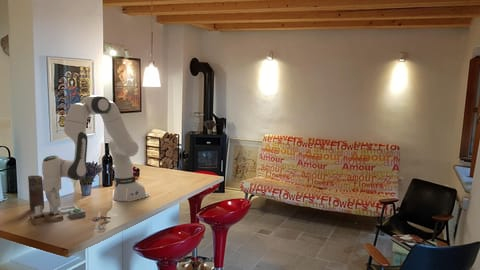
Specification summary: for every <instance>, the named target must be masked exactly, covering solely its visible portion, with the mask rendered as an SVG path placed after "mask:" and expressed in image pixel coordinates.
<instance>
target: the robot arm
mask: <svg viewBox="0 0 480 270" xmlns="http://www.w3.org/2000/svg"><path fill="white" fill-rule="evenodd" d="M117 106H118V105H116V103H115V102H113V101H111V100H109V99H108V98H107V97H105V96H103V95H92V94H91V95H89V96H82V97H81V98H80V99H79V100H78V101H77V102H76V103H72V104H71V105H70V107H69V108H68V110H67V113H66V117H65V120H64V126H63V130H64V131H63V132H64V133H65V135H66V136H67V137H68V138H69V139H71V140H72V141H73V143H74V145H75V146H74V147H75V148H74V158H73V160H70V159H66V158H63V157H59V156H57V155H49V156H46V157H45V158H43V160H42V163H41V175H42V180H43V192H44V196H45V198H46V200H47V202H48V203H49V205H48V206H50V204H51V205H52V207H53V213H54V214H57V213H58V211H57V210H59V209H58V208H61V195H60V190H62V178H67V179H70V180H74V181H80V180H82V179H83V178H84V177H86V174H87V173H88V172H87V171H88V168H87V167H88V166H87V154H88V153H87V152H88V135H87V131H86V130H87V123H88V118H89V116H90V115H92V116H93V115H100V117H101V119H102V122H103V124H104V127H105V129H106V132H107V134H108V135H109V136H110V137H111V139H110V140H109V141H108V149H109V150H110V152H111V157H112V160H113V163H114V164H113V165H114V166H113V167H114V177H113V184H114V191H113V196H112V199H113V201H118V202H134V201H137V199H138V200H141V198H142V199H145V197H146V198H149V197H150V195H149V193H148V192H147V191H146V188H145V186H144V185H143V184H141V183H139V182H138V181H139V177H138V176H136V175H134V170H133V169H134V167H133V165H134V164H133V162H132V160H131V158H130V157H134V156H136V155H137V154H138V153H139V145H138V143H137V142H136V141H135V140H134V139H133V137H132V135H131V134H130V132H129V130H128V129H127V127H126V125H125V123H124V120H123V117H122V114H121V111H120V110H119V108H118V107H117Z"/></svg>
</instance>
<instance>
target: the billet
mask: <svg viewBox="0 0 480 270" xmlns="http://www.w3.org/2000/svg"><path fill="white" fill-rule="evenodd" d="M49 211H50V216H54V215H58V214H54V213H53V207H52V205H51V204H50V205H49Z"/></svg>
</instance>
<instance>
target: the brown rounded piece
mask: <svg viewBox="0 0 480 270" xmlns="http://www.w3.org/2000/svg"><path fill="white" fill-rule="evenodd" d="M27 178H28V179H27V183H28V197H29V198H28V199H29V210H30V211H31V212H35V206H39V205H41V206H43V209H44V208H45V197H44V196H45V193H44V191H43V176H41V175H29V176H27Z"/></svg>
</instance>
